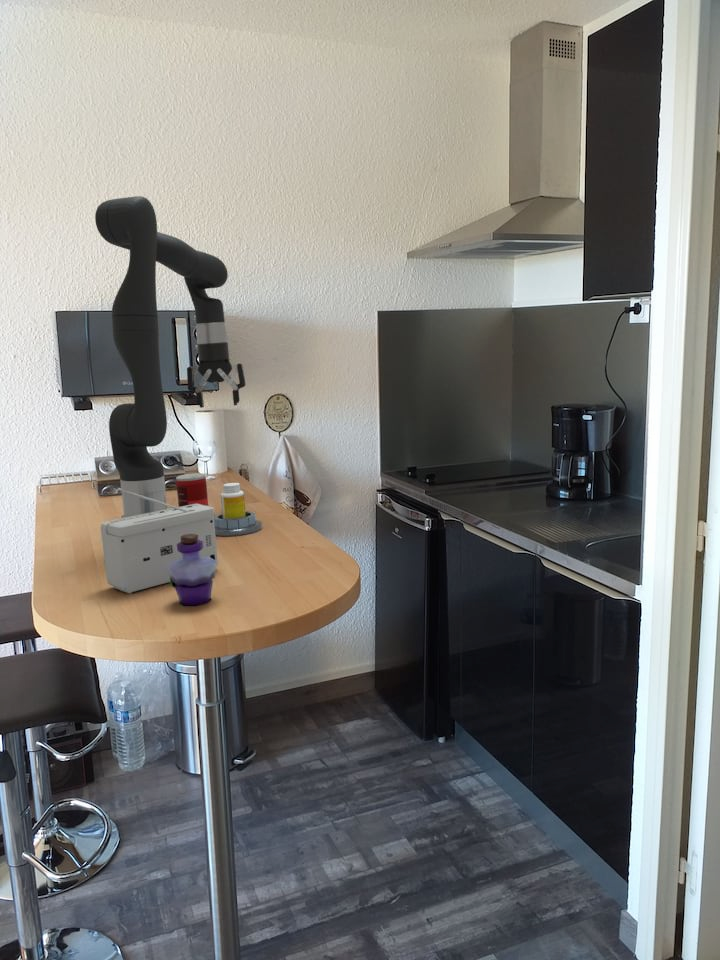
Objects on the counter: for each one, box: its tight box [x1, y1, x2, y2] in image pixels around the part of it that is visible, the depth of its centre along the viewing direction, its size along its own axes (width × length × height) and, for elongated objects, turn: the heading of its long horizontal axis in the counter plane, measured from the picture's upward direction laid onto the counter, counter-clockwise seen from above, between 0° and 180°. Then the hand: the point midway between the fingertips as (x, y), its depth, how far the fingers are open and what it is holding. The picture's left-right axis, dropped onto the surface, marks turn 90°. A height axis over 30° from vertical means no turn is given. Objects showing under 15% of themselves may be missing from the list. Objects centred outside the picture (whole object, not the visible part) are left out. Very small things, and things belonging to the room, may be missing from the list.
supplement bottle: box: [220, 482, 246, 519], centre depth 184 cm, size 6×6×10 cm
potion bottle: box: [167, 534, 217, 607], centre depth 132 cm, size 9×9×12 cm
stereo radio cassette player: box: [100, 487, 219, 595], centre depth 145 cm, size 21×8×20 cm, turn 131°
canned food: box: [175, 473, 209, 507], centre depth 203 cm, size 8×8×11 cm
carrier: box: [214, 510, 263, 538], centre depth 185 cm, size 13×13×4 cm
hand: (218, 406), depth 192 cm, fingers open, 8 cm apart
